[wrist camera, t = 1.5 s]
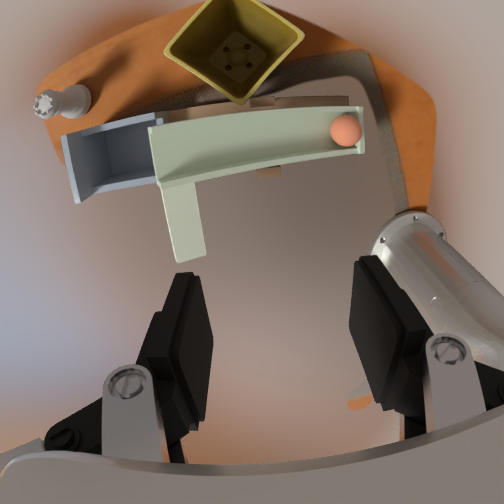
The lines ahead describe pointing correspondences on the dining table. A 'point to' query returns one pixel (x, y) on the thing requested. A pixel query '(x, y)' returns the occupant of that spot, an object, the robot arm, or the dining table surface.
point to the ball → (346, 130)
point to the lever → (234, 156)
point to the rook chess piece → (64, 102)
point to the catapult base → (254, 105)
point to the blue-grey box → (111, 155)
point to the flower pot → (234, 45)
